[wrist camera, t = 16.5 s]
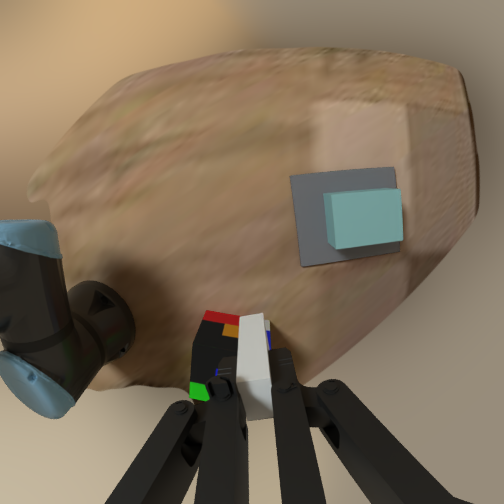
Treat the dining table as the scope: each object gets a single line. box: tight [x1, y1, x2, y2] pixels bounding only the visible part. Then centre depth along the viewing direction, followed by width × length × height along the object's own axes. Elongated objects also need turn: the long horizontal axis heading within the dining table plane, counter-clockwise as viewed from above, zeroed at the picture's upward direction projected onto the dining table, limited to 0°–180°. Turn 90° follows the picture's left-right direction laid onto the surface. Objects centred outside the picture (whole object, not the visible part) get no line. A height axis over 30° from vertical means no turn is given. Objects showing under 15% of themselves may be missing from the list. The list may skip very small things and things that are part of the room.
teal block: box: [323, 188, 403, 249], centre depth 36 cm, size 4×7×10 cm
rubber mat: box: [290, 167, 400, 267], centre depth 38 cm, size 16×13×1 cm
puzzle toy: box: [189, 310, 271, 401], centre depth 39 cm, size 10×10×10 cm
